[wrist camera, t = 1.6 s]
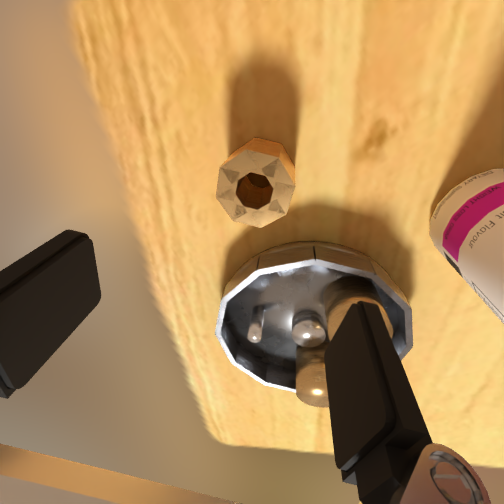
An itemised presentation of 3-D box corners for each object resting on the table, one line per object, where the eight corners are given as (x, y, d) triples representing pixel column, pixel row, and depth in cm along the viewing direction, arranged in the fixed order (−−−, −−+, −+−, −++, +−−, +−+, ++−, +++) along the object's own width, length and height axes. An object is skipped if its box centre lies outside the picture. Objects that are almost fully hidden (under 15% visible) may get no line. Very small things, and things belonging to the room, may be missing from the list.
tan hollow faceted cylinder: (236, 132, 22) (223, 143, 17) (300, 148, 22) (302, 163, 17) (226, 194, 25) (213, 216, 20) (283, 207, 25) (280, 232, 20)
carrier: (240, 220, 26) (226, 253, 21) (438, 269, 26) (475, 315, 21) (214, 346, 37) (201, 389, 31) (354, 381, 37) (364, 429, 31)
